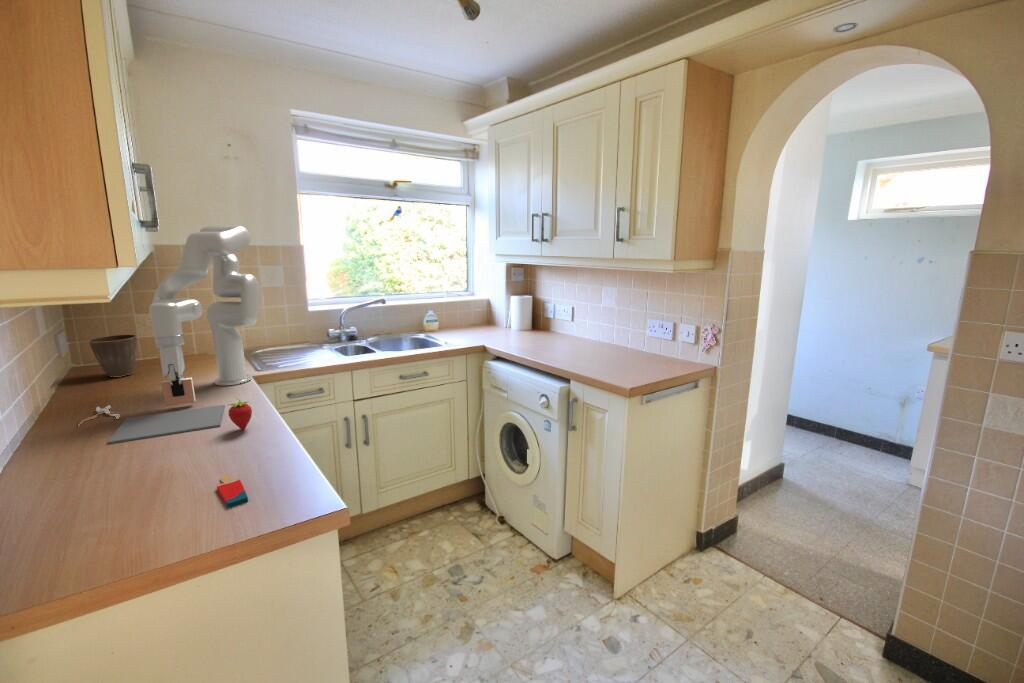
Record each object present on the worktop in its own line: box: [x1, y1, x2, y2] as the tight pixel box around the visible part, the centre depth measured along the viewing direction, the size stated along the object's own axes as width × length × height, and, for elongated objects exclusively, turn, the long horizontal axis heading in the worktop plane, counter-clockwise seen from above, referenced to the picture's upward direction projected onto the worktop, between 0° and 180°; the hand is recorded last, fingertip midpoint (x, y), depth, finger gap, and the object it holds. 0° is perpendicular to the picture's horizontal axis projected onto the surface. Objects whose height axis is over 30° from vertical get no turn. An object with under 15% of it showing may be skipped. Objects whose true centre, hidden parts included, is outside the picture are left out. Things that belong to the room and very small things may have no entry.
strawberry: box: [227, 397, 253, 431], centre depth 134 cm, size 6×8×10 cm
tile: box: [160, 377, 196, 407], centre depth 153 cm, size 2×8×8 cm, turn 118°
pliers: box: [95, 405, 121, 420], centre depth 146 cm, size 10×2×15 cm
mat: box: [107, 404, 226, 445], centre depth 140 cm, size 20×26×1 cm
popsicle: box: [216, 475, 249, 509], centre depth 102 cm, size 5×2×15 cm
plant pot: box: [88, 334, 138, 377], centre depth 190 cm, size 15×15×16 cm
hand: (179, 394), depth 153 cm, fingers closed on tile, 2 cm apart
